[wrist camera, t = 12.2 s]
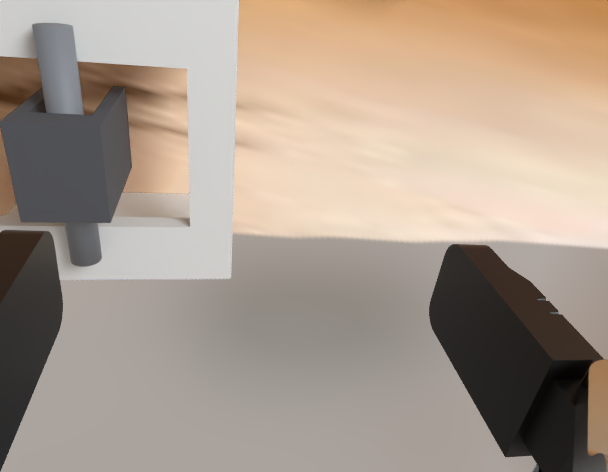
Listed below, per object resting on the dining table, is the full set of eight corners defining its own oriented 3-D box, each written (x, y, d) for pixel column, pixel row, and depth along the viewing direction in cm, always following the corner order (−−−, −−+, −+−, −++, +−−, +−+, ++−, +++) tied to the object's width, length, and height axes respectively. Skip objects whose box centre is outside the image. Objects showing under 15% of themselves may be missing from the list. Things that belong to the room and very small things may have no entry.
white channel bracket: (-22, -46, 35) (-145, -44, 23) (232, -21, 38) (240, -7, 26) (28, 205, 45) (-40, 298, 33) (227, 208, 48) (231, 294, 36)
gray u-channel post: (48, 82, 33) (-1, 122, 26) (125, 86, 34) (99, 126, 27) (61, 164, 36) (20, 222, 29) (131, 166, 37) (110, 223, 30)
